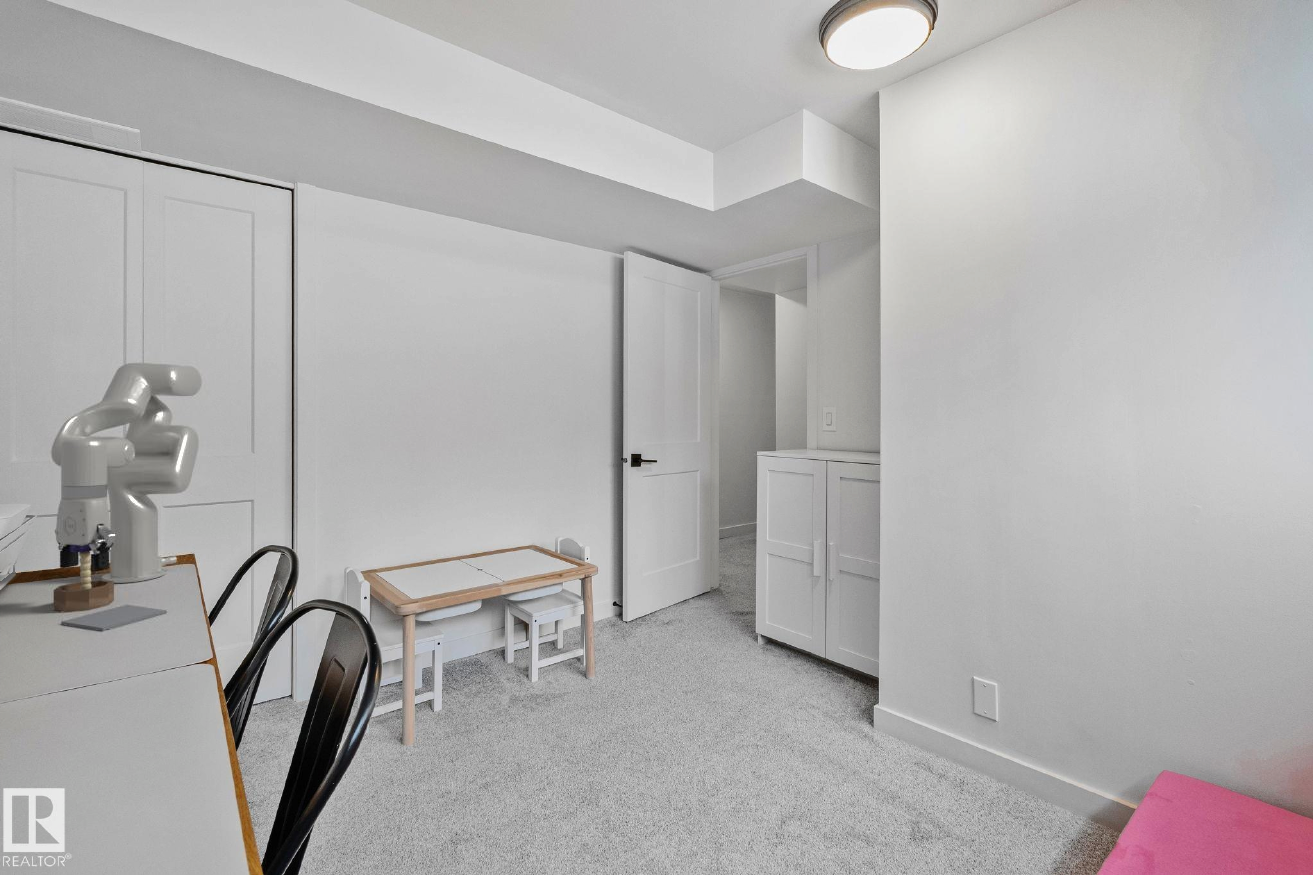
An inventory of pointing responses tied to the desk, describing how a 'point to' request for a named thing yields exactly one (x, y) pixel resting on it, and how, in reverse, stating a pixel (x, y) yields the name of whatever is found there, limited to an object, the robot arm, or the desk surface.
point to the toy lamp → (84, 564)
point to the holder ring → (83, 596)
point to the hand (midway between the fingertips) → (84, 568)
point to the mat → (114, 617)
